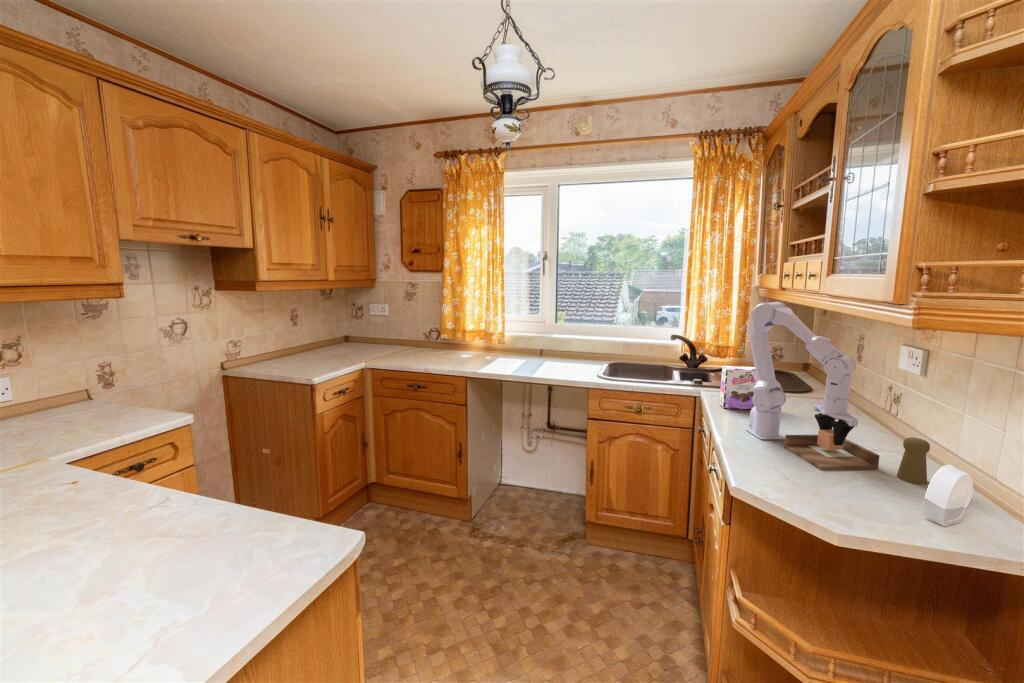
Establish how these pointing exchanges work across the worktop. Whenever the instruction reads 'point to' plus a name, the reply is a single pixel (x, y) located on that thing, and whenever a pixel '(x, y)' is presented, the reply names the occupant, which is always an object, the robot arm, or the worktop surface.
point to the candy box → (737, 387)
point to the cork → (914, 461)
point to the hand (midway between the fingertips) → (831, 441)
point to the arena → (831, 454)
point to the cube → (828, 440)
